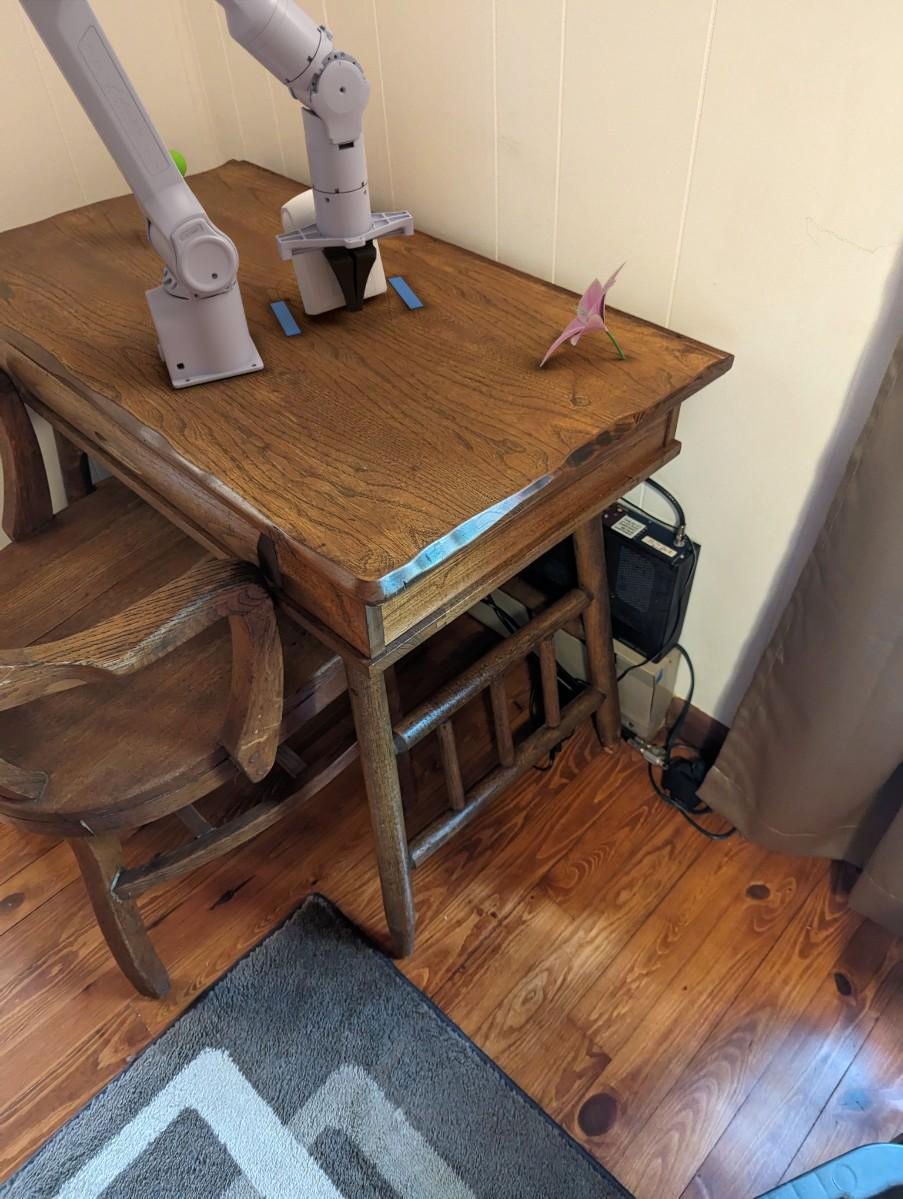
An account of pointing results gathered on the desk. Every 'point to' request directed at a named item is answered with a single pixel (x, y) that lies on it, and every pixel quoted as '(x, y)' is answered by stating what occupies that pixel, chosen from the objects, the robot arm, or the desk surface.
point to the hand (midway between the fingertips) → (354, 308)
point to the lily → (589, 314)
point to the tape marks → (292, 328)
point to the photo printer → (321, 263)
